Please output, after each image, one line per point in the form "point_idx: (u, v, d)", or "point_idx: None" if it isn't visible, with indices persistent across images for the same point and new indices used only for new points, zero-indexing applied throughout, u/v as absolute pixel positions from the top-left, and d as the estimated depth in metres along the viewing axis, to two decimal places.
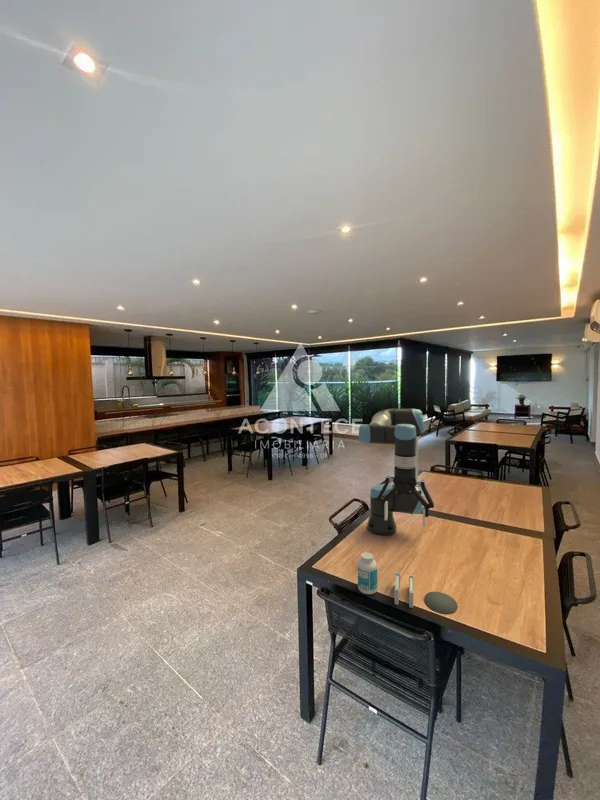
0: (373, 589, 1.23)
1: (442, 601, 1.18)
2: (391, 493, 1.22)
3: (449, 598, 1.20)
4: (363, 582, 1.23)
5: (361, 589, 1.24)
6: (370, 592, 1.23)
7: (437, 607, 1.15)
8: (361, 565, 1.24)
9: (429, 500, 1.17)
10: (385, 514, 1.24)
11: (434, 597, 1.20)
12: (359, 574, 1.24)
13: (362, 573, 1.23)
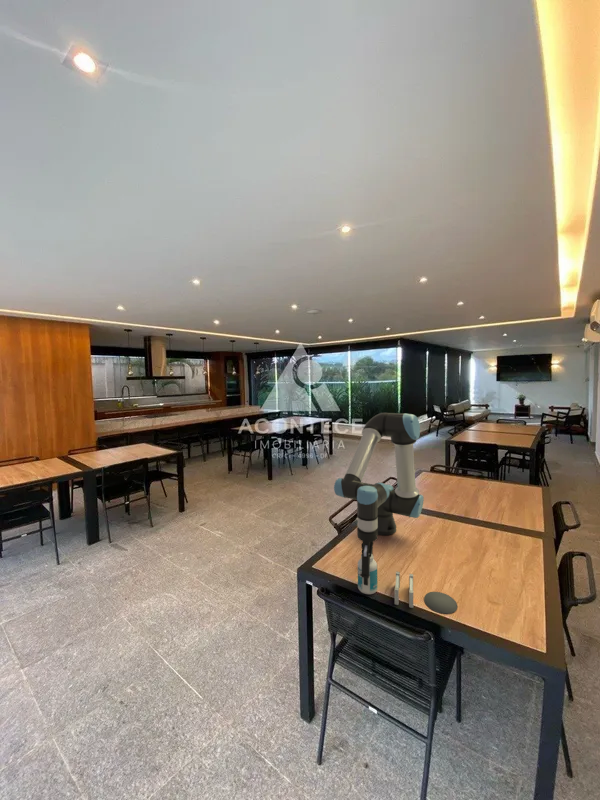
0: (373, 589, 1.23)
1: (442, 601, 1.18)
2: None
3: (449, 598, 1.20)
4: None
5: (361, 589, 1.24)
6: (370, 592, 1.23)
7: (437, 607, 1.15)
8: (361, 565, 1.24)
9: None
10: None
11: (434, 597, 1.20)
12: (359, 574, 1.24)
13: None
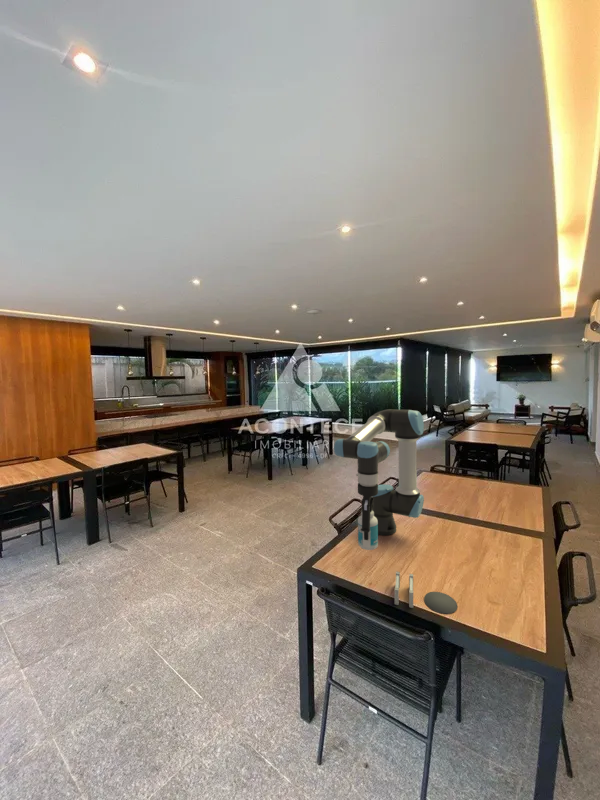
0: (373, 544, 1.22)
1: (442, 601, 1.18)
2: None
3: (449, 598, 1.20)
4: None
5: (361, 545, 1.23)
6: (370, 547, 1.21)
7: (437, 607, 1.15)
8: (361, 520, 1.22)
9: (362, 523, 1.18)
10: None
11: (434, 597, 1.20)
12: (359, 530, 1.23)
13: None
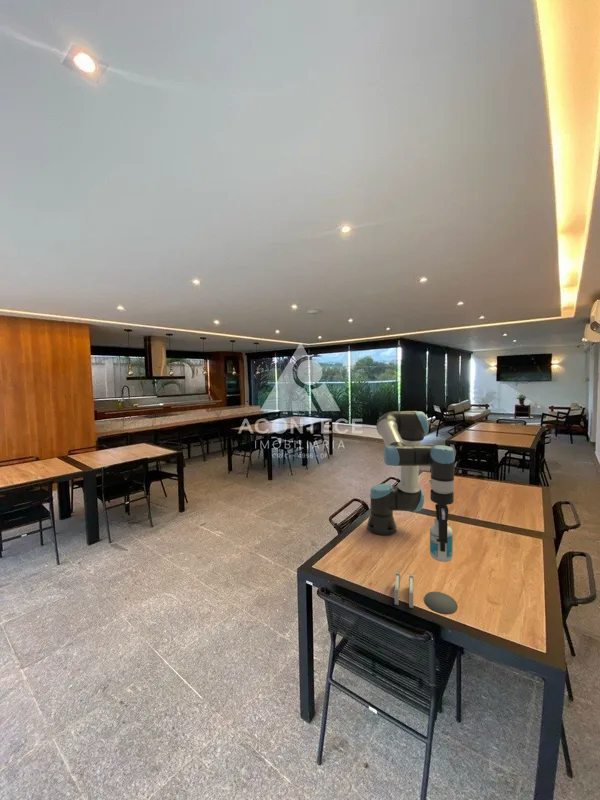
0: (449, 556, 1.13)
1: (442, 601, 1.18)
2: None
3: (449, 598, 1.20)
4: None
5: (436, 556, 1.14)
6: None
7: (437, 607, 1.15)
8: (435, 530, 1.14)
9: (439, 533, 1.10)
10: None
11: (434, 597, 1.20)
12: (433, 540, 1.15)
13: None
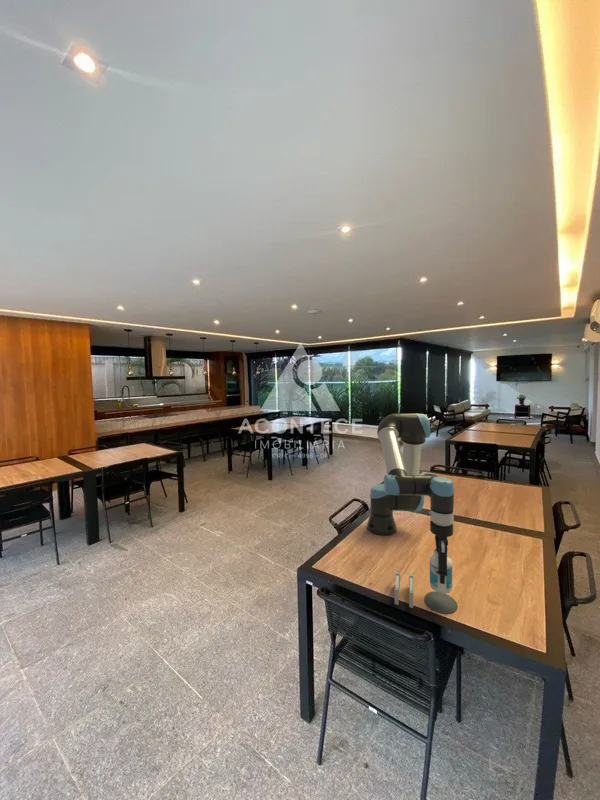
0: (449, 588, 1.14)
1: (442, 601, 1.18)
2: None
3: (449, 598, 1.20)
4: None
5: (435, 588, 1.15)
6: (446, 591, 1.14)
7: (437, 607, 1.15)
8: (435, 562, 1.15)
9: (439, 566, 1.11)
10: None
11: (434, 597, 1.20)
12: (433, 572, 1.16)
13: (437, 570, 1.14)
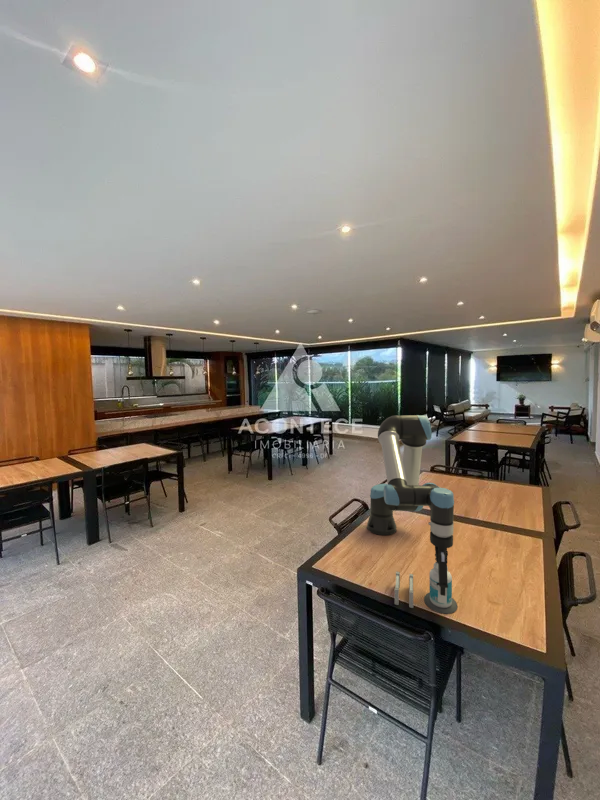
0: (448, 602, 1.15)
1: None
2: None
3: None
4: None
5: (435, 602, 1.16)
6: (445, 605, 1.14)
7: (437, 607, 1.15)
8: (435, 576, 1.15)
9: (439, 577, 1.09)
10: None
11: None
12: (433, 586, 1.16)
13: (437, 585, 1.15)
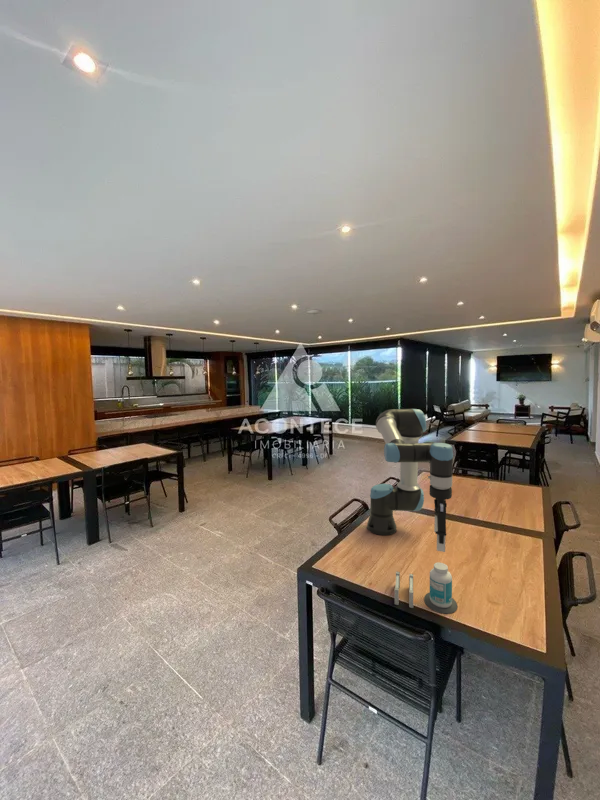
0: (448, 602, 1.15)
1: None
2: (435, 507, 1.26)
3: None
4: (438, 594, 1.15)
5: (435, 602, 1.16)
6: (446, 605, 1.14)
7: (437, 607, 1.15)
8: (435, 576, 1.15)
9: (438, 525, 1.13)
10: (434, 526, 1.28)
11: None
12: (433, 586, 1.16)
13: (437, 585, 1.15)
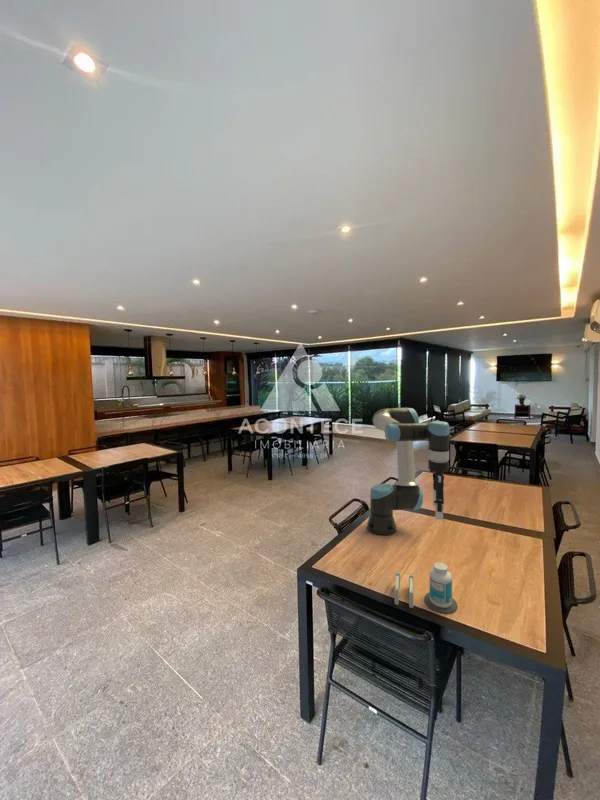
0: (448, 602, 1.15)
1: None
2: None
3: None
4: (438, 594, 1.15)
5: (435, 602, 1.16)
6: (445, 605, 1.14)
7: (437, 607, 1.15)
8: (435, 576, 1.15)
9: (436, 495, 1.24)
10: (433, 499, 1.39)
11: None
12: (433, 586, 1.16)
13: (437, 585, 1.15)
